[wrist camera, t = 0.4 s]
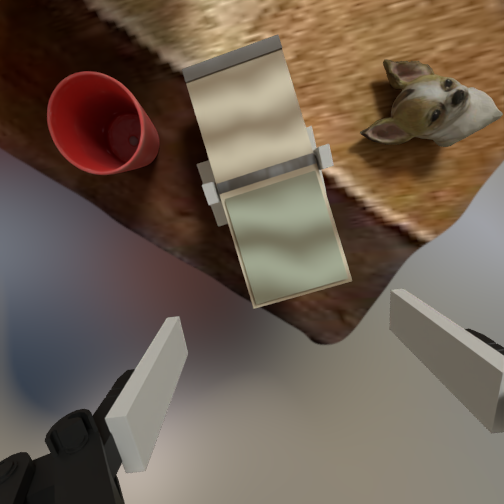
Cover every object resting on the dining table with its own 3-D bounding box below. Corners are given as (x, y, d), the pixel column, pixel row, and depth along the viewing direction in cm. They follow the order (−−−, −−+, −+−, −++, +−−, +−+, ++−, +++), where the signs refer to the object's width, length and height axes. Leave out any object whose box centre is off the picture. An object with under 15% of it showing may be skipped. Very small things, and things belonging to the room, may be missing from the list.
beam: (188, 83, 31) (181, 67, 28) (277, 51, 30) (278, 32, 27) (254, 304, 31) (253, 309, 28) (346, 278, 30) (353, 281, 27)
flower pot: (181, 166, 37) (158, 158, 28) (116, 186, 38) (72, 185, 28) (155, 92, 35) (120, 56, 25) (86, 115, 35) (27, 88, 26)
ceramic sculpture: (494, 157, 29) (376, 127, 29) (442, 166, 37) (351, 142, 37) (540, 59, 26) (412, 24, 26) (473, 91, 35) (376, 65, 35)
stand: (198, 164, 37) (177, 155, 26) (309, 127, 36) (335, 102, 25) (236, 276, 42) (232, 306, 31) (336, 247, 41) (366, 268, 30)
